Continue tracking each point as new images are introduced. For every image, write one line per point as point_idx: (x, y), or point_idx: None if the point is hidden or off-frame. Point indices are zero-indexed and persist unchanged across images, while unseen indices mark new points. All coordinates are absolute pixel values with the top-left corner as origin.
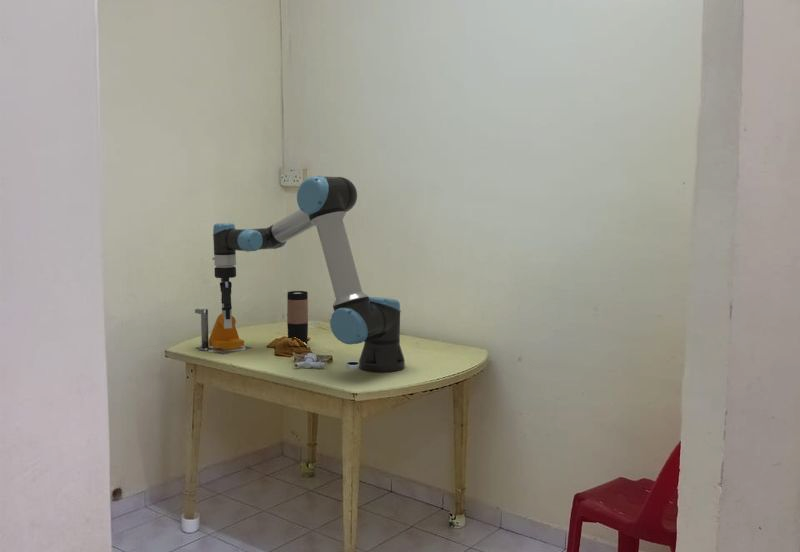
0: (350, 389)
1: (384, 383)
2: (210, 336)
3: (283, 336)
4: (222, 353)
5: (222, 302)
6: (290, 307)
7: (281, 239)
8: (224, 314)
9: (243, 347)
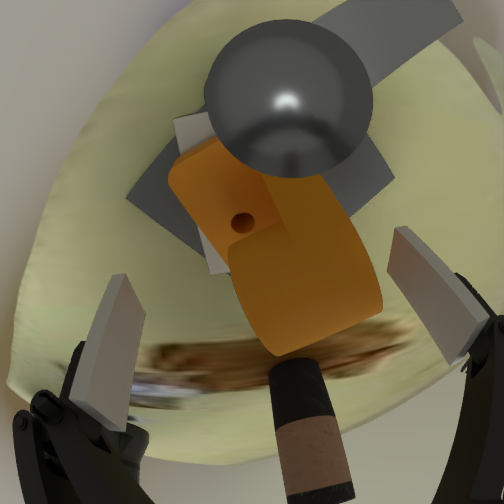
0: (12, 385)
1: None
2: None
3: (405, 330)
4: (144, 191)
5: (492, 338)
6: (295, 470)
7: None
8: (82, 367)
9: None
